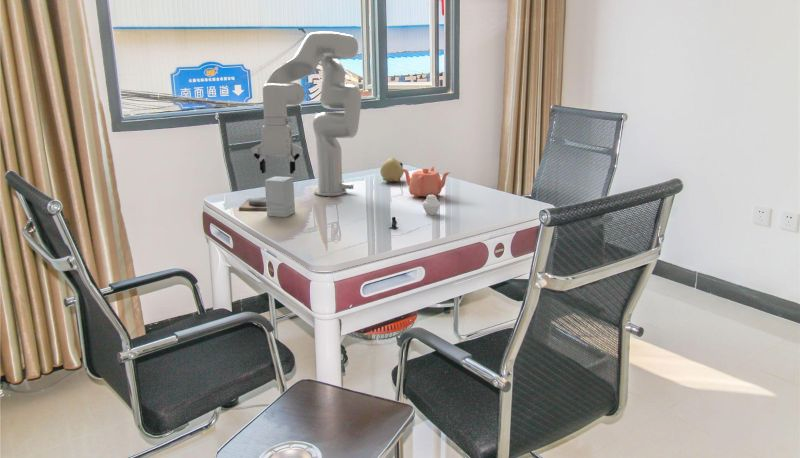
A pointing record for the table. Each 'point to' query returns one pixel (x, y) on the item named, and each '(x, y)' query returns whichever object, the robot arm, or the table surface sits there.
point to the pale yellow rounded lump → (392, 170)
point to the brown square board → (254, 204)
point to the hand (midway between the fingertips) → (277, 172)
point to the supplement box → (280, 196)
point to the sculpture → (393, 224)
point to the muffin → (431, 205)
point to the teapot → (425, 182)
